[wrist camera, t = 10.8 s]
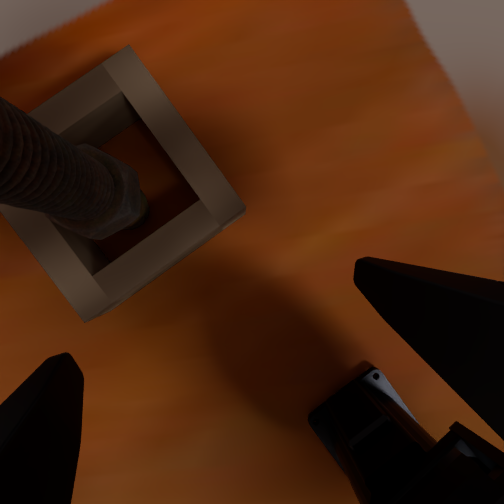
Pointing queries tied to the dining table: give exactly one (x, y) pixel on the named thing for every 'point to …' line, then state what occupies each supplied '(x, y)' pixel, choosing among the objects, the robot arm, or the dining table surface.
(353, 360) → the dining table surface
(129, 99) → the socket block
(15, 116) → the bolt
